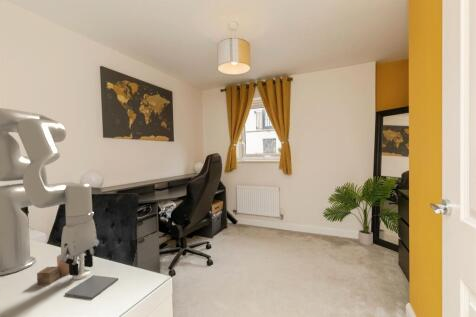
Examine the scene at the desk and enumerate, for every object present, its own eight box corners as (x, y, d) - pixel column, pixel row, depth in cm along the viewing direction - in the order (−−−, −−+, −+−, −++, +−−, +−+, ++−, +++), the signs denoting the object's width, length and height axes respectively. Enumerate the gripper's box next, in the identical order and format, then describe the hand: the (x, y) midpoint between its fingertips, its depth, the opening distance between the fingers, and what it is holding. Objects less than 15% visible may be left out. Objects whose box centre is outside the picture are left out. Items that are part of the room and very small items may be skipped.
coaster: (64, 295, 66) (64, 293, 66) (93, 276, 76) (93, 275, 76) (92, 299, 64) (92, 297, 64) (118, 279, 74) (118, 278, 74)
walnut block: (37, 285, 72) (36, 273, 72) (47, 278, 76) (47, 267, 76) (50, 284, 72) (49, 272, 72) (59, 277, 76) (59, 266, 76)
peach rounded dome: (53, 274, 78) (52, 257, 78) (69, 266, 84) (68, 251, 84) (65, 276, 77) (65, 259, 77) (80, 268, 82) (80, 252, 82)
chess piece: (81, 280, 74) (80, 250, 74) (69, 278, 75) (68, 249, 75) (93, 272, 79) (92, 244, 79) (82, 271, 80) (81, 244, 80)
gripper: (91, 212, 86) (93, 258, 86) (45, 226, 69) (47, 283, 70) (108, 213, 84) (109, 260, 85) (64, 227, 68) (66, 286, 68)
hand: (81, 270), depth 77 cm, fingers open, 4 cm apart
